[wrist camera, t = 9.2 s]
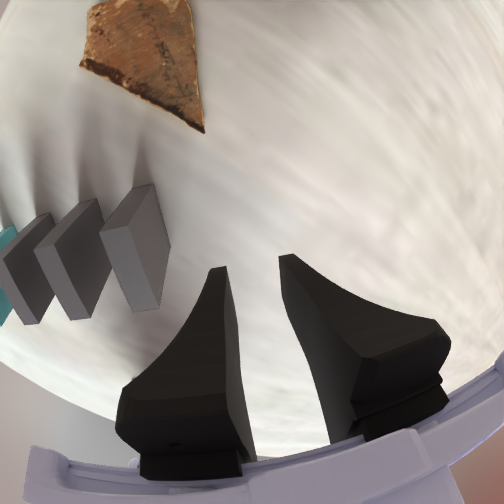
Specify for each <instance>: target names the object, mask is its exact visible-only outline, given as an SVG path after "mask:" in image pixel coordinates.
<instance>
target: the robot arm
mask: <svg viewBox="0 0 504 504" xmlns="http://www.w3.org/2000/svg"><path fill="white" fill-rule="evenodd" d="M278 257H279V268H280V280H281V293H282V298H283V302H284V305H285V309H286V312H287V315H288V318H289V320H290V322H291V324H292V327H293V329H294V331H295V334H296V336H297V338H298V340H299V343H300V345H301V347H302V349H303V352H304V354H305V356H306V359H307V361H308V364H309V367H310V370H311V373H312V376H313V380H314V383H315V386H316V390H317V393H318V397H319V400H320V404H321V408H322V411H323V415H324V419H325V423H326V427H327V431H328V435H329V439H330V443H331V445H328V446H324V447H321V448H317V449H314V450H310V451H306V452H302V453H298V454H293V455H289V456H284V457H280V458H275V459H269V460H264V461H257V456H256V451H255V447H254V442H253V437H252V432H251V427H250V422H249V417H248V412H247V407H246V401H245V396H244V390H243V385H242V378H241V369H240V353H239V336H238V323H237V317H236V312H235V306H234V301H233V296H232V292H231V287H230V282H229V277H228V273H227V268H226V266H223V267H217V268H212V269H210V271H209V273H208V276H207V279H206V282H205V284H204V287H203V289H202V292H201V294H200V296H199V298H198V300H197V302H196V304H195V306H194V308H193V310H192V312H191V313H190V315H189V317H188V319H187V320H186V322H185V324H184V325H183V327H182V328H181V330H180V331H179V332H178V334H177V335H176V337H175V338H174V339H173V340H172V342H171V343H170V344H169V346H168V347H167V348H166V349H165V350H164V352H163V353H162V354H161V355H160V356H159V357H158V358H157V359H156V360H155V361H154V362H153V363H152V364H151V365H150V366H149V367H148V368H147V369H146V370H144V371H143V372H142V373H141V374H140V375H139V376H137V377H136V378H135V379H134V380H132V381H131V382H130V383H129V384H127V385H126V386H125V387H123V389H122V393H121V396H120V399H119V404H118V409H117V416H116V424H115V430H116V433H117V434H118V435H119V437H120V438H121V439H122V440H123V441H124V442H126V443H127V444H128V445H130V446H131V447H132V448H133V449H135V450H136V451H137V452H138V453H140V461H139V462H138V459H137V458H132V460H130V461H129V462H128V464H127V468H125V467H113V466H105V465H96V464H90V463H84V462H78V461H72V460H69V459H68V458H67V457H65V456H64V455H62V454H61V453H59V452H57V451H54V450H51V449H47V448H42V447H38V446H34V445H32V446H31V450H30V455H29V460H28V465H27V471H26V477H25V484H24V492H23V499H24V500H25V501H27V502H29V503H31V504H465V503H464V501H463V498H462V496H461V493H460V491H459V489H458V487H457V484H456V482H455V480H454V478H453V476H452V473H451V471H450V469H449V466H450V465H452V464H453V463H455V462H456V461H458V460H459V459H461V458H462V457H463V456H465V455H466V454H468V453H469V452H470V451H472V450H473V449H474V448H476V447H477V446H478V445H480V444H481V443H482V442H484V441H485V440H486V439H487V438H489V437H490V436H491V435H492V434H494V433H495V432H496V431H497V430H498V429H499V428H500V427H502V426H503V425H504V351H503V352H502V353H501V354H500V355H499V357H498V358H497V360H496V361H495V363H494V365H493V366H491V367H490V368H489V369H487V370H486V371H484V372H483V373H481V374H480V375H478V376H477V377H475V378H474V379H472V380H471V381H469V382H468V383H466V384H464V385H463V386H461V387H460V388H458V389H456V390H455V391H453V392H451V393H450V394H448V395H446V393H445V392H444V390H443V388H442V387H441V385H440V384H441V383H442V382H443V379H442V377H441V376H440V374H439V373H438V372H439V370H440V369H441V367H442V365H443V363H444V362H445V360H446V358H447V356H448V354H449V351H450V348H451V340H450V337H449V336H448V335H447V334H446V332H445V331H444V330H443V329H442V327H441V326H440V325H439V324H438V322H437V321H436V320H434V319H429V318H424V317H419V316H414V315H409V314H405V313H402V312H398V311H395V310H391V309H388V308H385V307H383V306H380V305H377V304H375V303H372V302H370V301H367V300H365V299H363V298H361V297H359V296H357V295H355V294H353V293H351V292H349V291H347V290H345V289H343V288H341V287H340V286H338V285H336V284H335V283H333V282H331V281H330V280H328V279H327V278H325V277H324V276H322V275H321V274H320V273H318V272H317V271H315V270H314V269H313V268H311V267H310V266H309V265H308V264H306V263H305V262H304V261H302V260H301V259H300V258H298V257H297V256H296V255H294V254H288V255H282V256H278Z"/></svg>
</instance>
